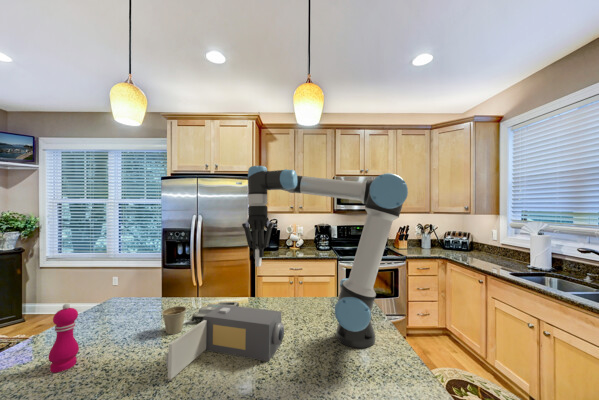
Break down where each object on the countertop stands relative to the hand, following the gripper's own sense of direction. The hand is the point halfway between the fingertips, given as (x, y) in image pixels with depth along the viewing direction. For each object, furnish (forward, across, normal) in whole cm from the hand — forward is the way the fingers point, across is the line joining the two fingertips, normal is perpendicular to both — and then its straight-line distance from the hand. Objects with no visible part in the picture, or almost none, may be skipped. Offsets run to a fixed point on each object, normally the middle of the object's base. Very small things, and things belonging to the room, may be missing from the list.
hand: (258, 265), depth 98 cm
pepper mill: (+28, +56, +29) cm, 69 cm away
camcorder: (+29, +29, -19) cm, 45 cm away
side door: (+28, +17, +19) cm, 38 cm away
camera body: (+29, +4, +4) cm, 30 cm away
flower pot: (+29, +39, 0) cm, 48 cm away
